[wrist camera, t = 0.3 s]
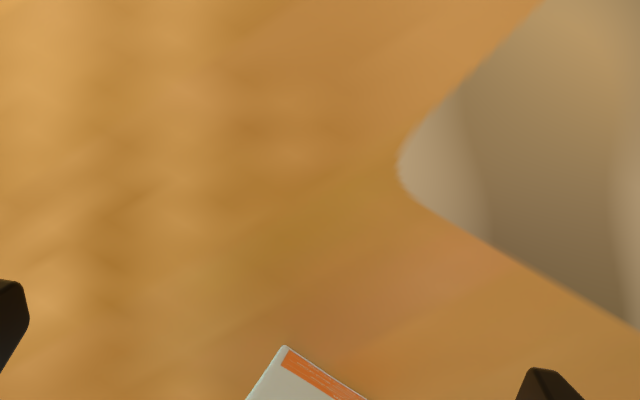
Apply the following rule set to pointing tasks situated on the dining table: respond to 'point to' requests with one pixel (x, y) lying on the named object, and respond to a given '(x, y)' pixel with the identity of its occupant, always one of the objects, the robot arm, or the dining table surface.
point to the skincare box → (298, 381)
